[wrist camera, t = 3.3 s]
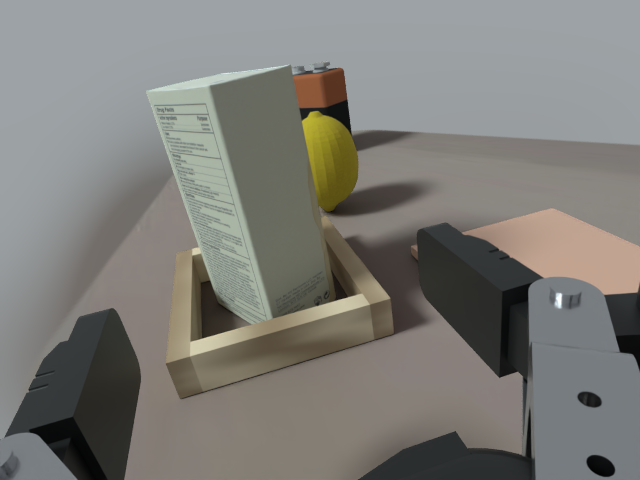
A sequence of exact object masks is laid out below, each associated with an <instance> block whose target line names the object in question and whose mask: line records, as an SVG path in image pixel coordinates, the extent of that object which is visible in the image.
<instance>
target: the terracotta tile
mask: <svg viewBox="0 0 640 480" xmlns="http://www.w3.org/2000/svg"><path fill="white" fill-rule="evenodd" d="M461 233H462V234H464V235H471V236H474V237H477V238H481V239H484V240H487V241H488V242H490V243H491V244H493V245H494V246H496V247H497V248H499V251H500V250H502V251H503V252H505V253H507V254H508V255H510V258H512V257H513V258H514V259H516V260H517V261H519V262H520V263H522V264H523V265H525V266H527V267H528V268H530V269H531V270H533V271H534V272H536V273H537V274H539V275H540V276H542V277H543V278H548V277H569V278H575V279H579V280H582V281H585V282H588V283H590V284H592V285H594V286H595V287H597V288H598V289H599V290H600V291H601V292H602V293H603V294H604V295H608V294H622V293H636V292H638V288H639V283H640V247H639V246H637V245H635V244H632V243H630V242H628V241H626V240H623V239H621V238H619V237H617V236H614V235H612V234H610V233H608V232H605V231H603V230H601V229H599V228H596V227H594V226H592V225H590V224H587V223H585V222H583V221H581V220H578V219H576V218H574V217H572V216H569V215H567V214H565V213H563V212H560V211H558V210H556V209H554V208H551V209H547V210H543V211H539V212H536V213H532V214H528V215H525V216H521V217H517V218H513V219H510V220H506V221H502V222H499V223H495V224H491V225H487V226H484V227H480V228H476V229H473V230H469V231H465V232H461ZM411 253H412V256H414V257H415V258H416V259H417V260H418V250H417V245H413V246H411Z"/></svg>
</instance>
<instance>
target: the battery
mask: <svg viewBox="0 0 640 480" xmlns="http://www.w3.org/2000/svg"><path fill="white" fill-rule="evenodd" d="M328 65H330V63H329V62H321V63H314V64H311V65H310V68H314V69H315V70H313V71H305V70H304V66H297V67H292V73H293V79H294V84H295V89H296V94H297V99H298V105H299V110H300V115H301V120H302V121H303V120H304V119H306V118H307V117H308V115H309V113H310V112H313V111H319V112H320V113H321V114H322V115H325V116H329V117H332V118H334V119H336V120H338V121H339V122H340V123H342V124H343V125H344V126H345V127H346V128H347V130H348V131H349V133H350V134H351V137H352V133H351V125H350V117H349V109H348V101H347V93H346V85H345V76H344V71H343V69H342V68H333V69H328V68H326V66H328Z"/></svg>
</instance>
